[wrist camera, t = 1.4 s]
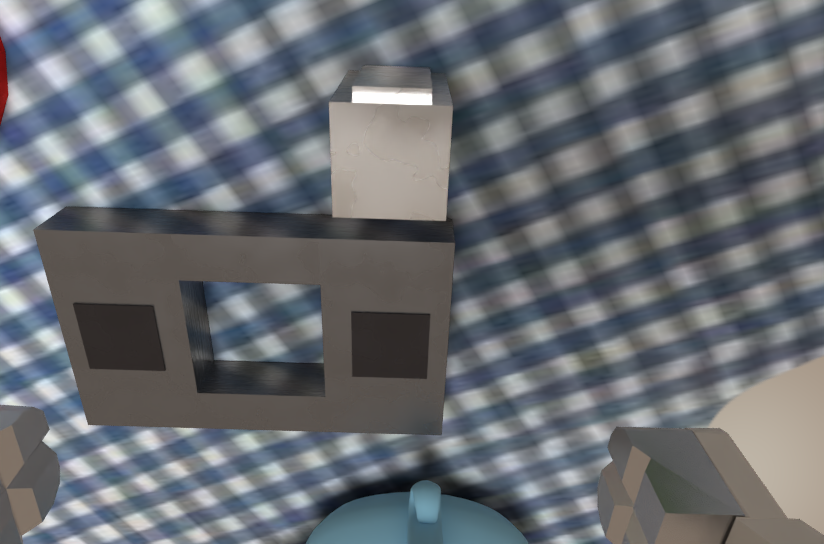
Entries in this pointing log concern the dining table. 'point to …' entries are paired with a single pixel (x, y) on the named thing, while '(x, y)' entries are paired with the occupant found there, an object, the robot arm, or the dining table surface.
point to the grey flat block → (252, 263)
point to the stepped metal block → (391, 144)
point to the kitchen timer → (3, 80)
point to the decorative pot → (415, 520)
